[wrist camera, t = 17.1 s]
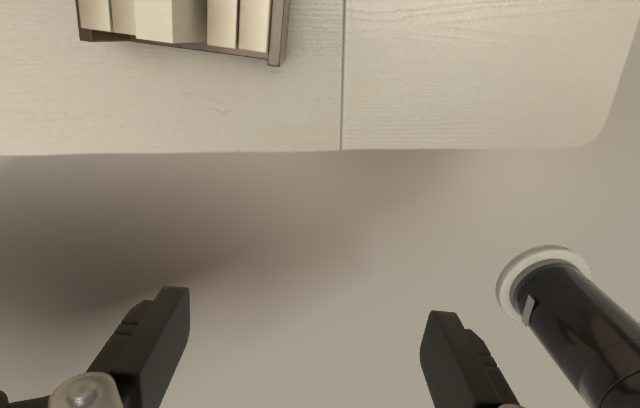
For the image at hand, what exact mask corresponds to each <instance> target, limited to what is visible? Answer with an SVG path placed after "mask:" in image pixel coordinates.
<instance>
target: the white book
mask: <svg viewBox="0 0 640 408" xmlns="http://www.w3.org/2000/svg"><path fill="white" fill-rule="evenodd" d="M134 12H135V29H136V38H137V39H143V40H150V41H158V42H165V43H193V42H207V0H134Z"/></svg>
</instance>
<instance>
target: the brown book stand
mask: <svg viewBox="0 0 640 408" xmlns="http://www.w3.org/2000/svg"><path fill="white" fill-rule="evenodd" d="M76 9H77V18H78V27H79V36H80V40H81V41H88V42H115V41H132V42H140V43H147V44H155V45H162V46H169V47H177V48H184V49H192V50H199V51H207V52H214V53H222V54H229V55H237V56H244V57H252V58H259V59H267V60H268V65H269V66H277V67H279V66H280V65H281V64H282V63H283V62H284V61H285V57H286V45H287V34H288V22H289V10H290V0H207V42H193V43H165V42H158V41H150V40H143V39H137V38H136V29H135V12H134V0H76Z"/></svg>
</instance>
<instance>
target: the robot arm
mask: <svg viewBox="0 0 640 408" xmlns="http://www.w3.org/2000/svg"><path fill="white" fill-rule="evenodd" d="M509 298H510V302H511V305H512V306H513V308H514V309H515V311H516V312H517V313H518V314H519V315H520V316H521V317H522V319H521V321H522V322H523V323H524V325H525V326H526V327H527V325H528V327H529V328H530V329H531V331H532V332H533V333H534V335H535V336H536V337H537V339H538V340H539V341H540V343H541V344H542V345H543V347H544V348H545V349H546V351H547V352H548V353H549V354H550V356H551V357H552V359H553V360H554V361H555V362H556V364H557V365H558V366H559V368H560V369H561V370H562V372H563V373H564V374H565V376H566V377H567V378H568V380H569V381H570V382H571V384H572V385H573V386H574V388H575V389H576V390H577V391H578V393H579V394H580V395H581V397H582V398H583V399H584V401H585V402H586V403H587V405H588V406H589V407H590V408H640V323H638V322H637V321H636V320H635V319H634V318H633V317H631V316H630V315H629V314H628V313H627V312H626V311H625V310H624V309H622V308H621V307H620V306H619V305H618V304H617V303H616V302H614V301H613V300H612V299H611V298H610V297H609V296H607V295H606V294H605V293H604V292H603V291H602V290H601V289H599V288H598V287H597V286H596V285H595V284H594V283H593V282H592V281H590V280H589V279H588V278H587V277H586V276H585V275H584V274H582V272H581V271H580V270H579V269H578V268H577V267H576V266H574V265H573V264H572V263H570V262H568V261H565V260H561V259H547V260H542V261H539V262H536V263H534V264H532V265H530V266H529V267H527V268H526V269H524V270H523V271H522V272H521V273H520V274H519V275H518V276H517V277H516V278H515V280H514V281H513V283H512V286H511V288H510V293H509ZM189 301H190V298H189V289H188V288H185V287H173V286H163V287H162V289H161V290H160V292H159V293H158V295H157V297H156V298H155V299H154V301H150V300H143V301H142V302H141V303H139V304H138V305H136V306H135V307H133V308H132V309H131V310H130V311H129V312H128V313H127V315H126V316H125V318H124V319H123V320H122V322H121V324H120V325H119V326H118V327H117V329H116V330H115V332H114V335H113V334H112V336H111V337H110V339H109V340H108V342H107V343H106V344H105V346H104V347H103V349H102V350H101V351H100V353H99V354H98V356H97V357H96V358H95V360H94V361H93V363H92V364H91V365H90V367H89V368H88V370H87V371H86V372H85V373H83V374H79V375H77V376H74V377H72V378H70V379H68V380H67V381H65V382H64V383H62V384H61V385H60V386H59V387H57V388H56V389H55V391H54V392H53V393H52V395H49V396H45V397H41V398H35V399H30V400H24V401H19V402H13V403H9V402H8V398H7V396H6V394H5V393H4V392H3V391H0V408H159V406H160V404H161V402H162V399H163V397H164V395H165V392H166V390H167V388H168V386H169V383H170V381H171V379H172V376H173V374H174V372H175V369H176V367H177V365H178V363H179V360H180V358H181V356H182V354H183V351H184V349H185V347H186V344H187V341H188V336H189V331H190V306H189V305H190V302H189ZM420 363H421V367H422V370H423V373H424V376H425V379H426V382H427V385H428V388H429V391H430V394H431V397H432V400H433V403H434V406H435V408H524V407H521V406H520V404H519V403H518V401H517V399H516V397H515V395H514V394H513V392H512V390H511V389H510V387H509V385H508V383H507V382H506V380H505V378H504V376H503V374H502V373H501V371H500V369H499V368H498V367H497V364H496V362H495V361H494V359H493V357H491V354H490V352H489V350H488V348H487V347H486V345H485V343H484V341H483V340H481V339H480V338H479V337H478V336H477V335H476V334H475V333H474V332H473V331H472V330H471V329H464V327H463V325H462V323H461V321H460V319H459V318H458V316H457V314H456V313H454V312H444V311H431V312H430V314H429V317H428V321H427V325H426V328H425V332H424V335H423V339H422V343H421V347H420Z"/></svg>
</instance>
